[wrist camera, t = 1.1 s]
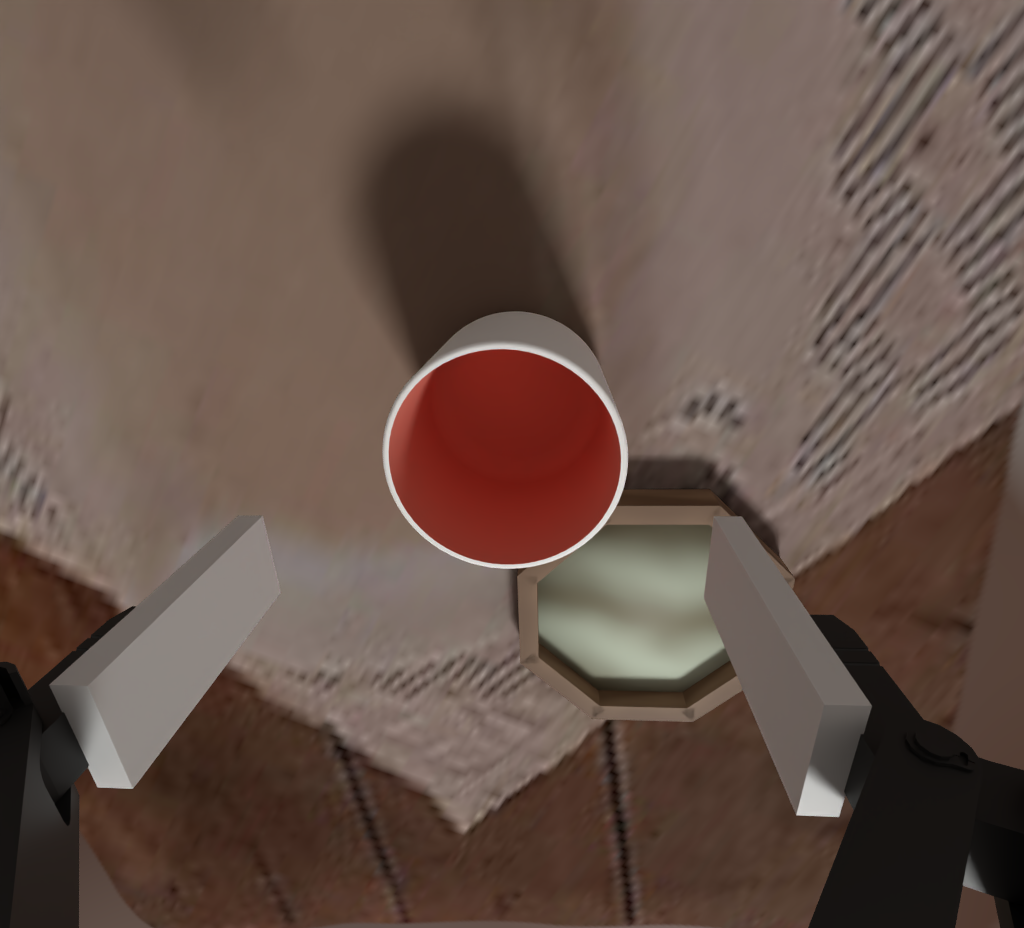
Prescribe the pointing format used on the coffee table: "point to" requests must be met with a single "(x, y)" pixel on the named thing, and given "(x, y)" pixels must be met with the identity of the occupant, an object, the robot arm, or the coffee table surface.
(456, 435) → the cup
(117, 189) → the coffee table surface
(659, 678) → the tray
